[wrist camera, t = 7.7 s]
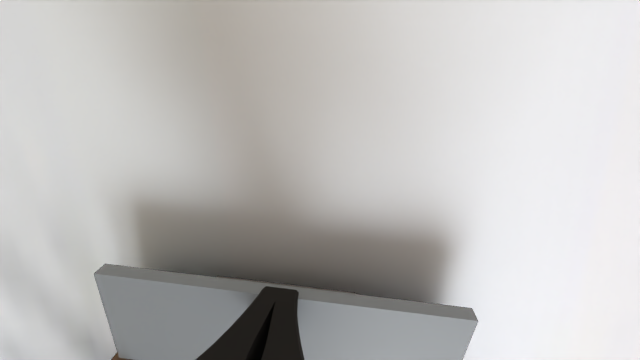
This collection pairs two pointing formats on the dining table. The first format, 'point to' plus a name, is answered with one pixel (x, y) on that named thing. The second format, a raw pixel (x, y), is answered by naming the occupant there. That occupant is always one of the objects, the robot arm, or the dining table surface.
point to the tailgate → (313, 316)
